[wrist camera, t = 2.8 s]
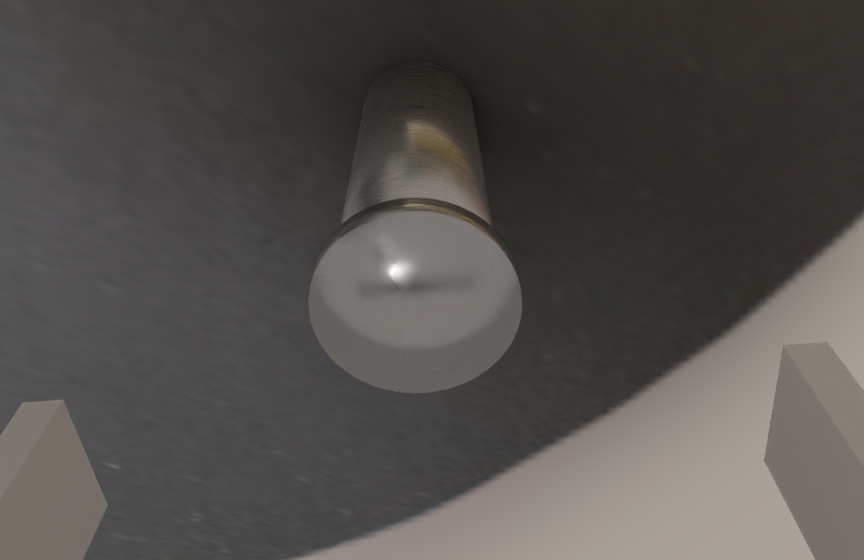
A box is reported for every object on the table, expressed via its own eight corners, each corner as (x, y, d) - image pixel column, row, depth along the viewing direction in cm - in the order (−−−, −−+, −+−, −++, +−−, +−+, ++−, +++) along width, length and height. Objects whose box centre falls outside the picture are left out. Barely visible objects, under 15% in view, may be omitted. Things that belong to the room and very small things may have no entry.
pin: (361, 181, 30) (326, 400, 19) (342, 56, 28) (290, 224, 17) (487, 170, 30) (525, 385, 19) (480, 43, 27) (518, 204, 16)
